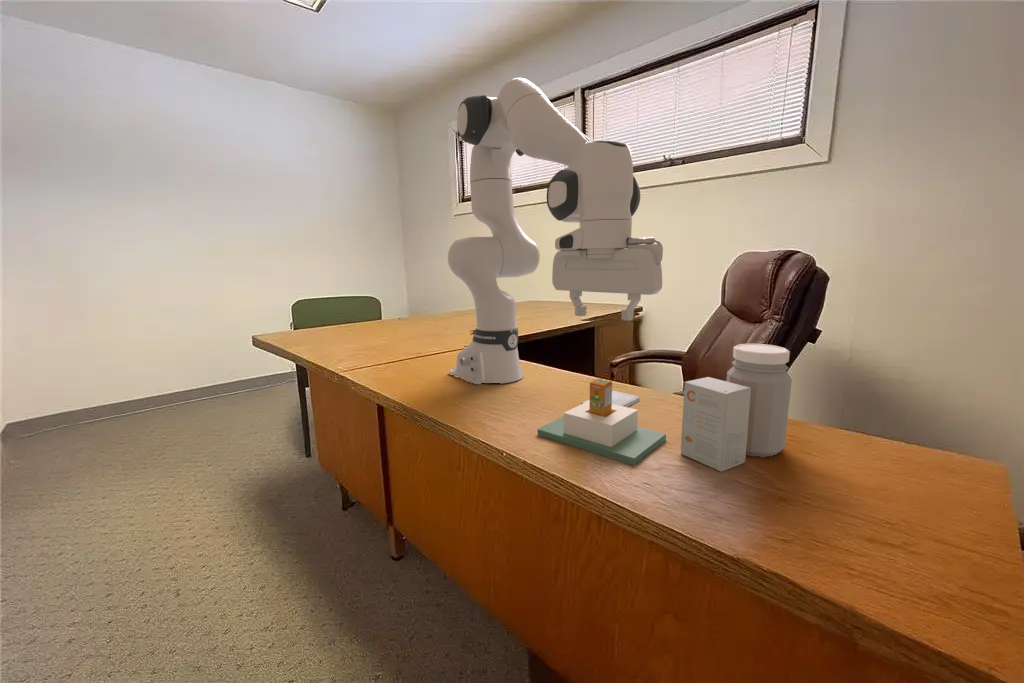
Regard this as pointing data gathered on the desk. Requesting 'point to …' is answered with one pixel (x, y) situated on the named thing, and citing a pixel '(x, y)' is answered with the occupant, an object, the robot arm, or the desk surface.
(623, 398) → the hard drive
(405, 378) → the desk surface
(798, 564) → the desk surface
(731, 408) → the small box
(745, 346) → the jar
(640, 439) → the board
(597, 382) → the supplement box
